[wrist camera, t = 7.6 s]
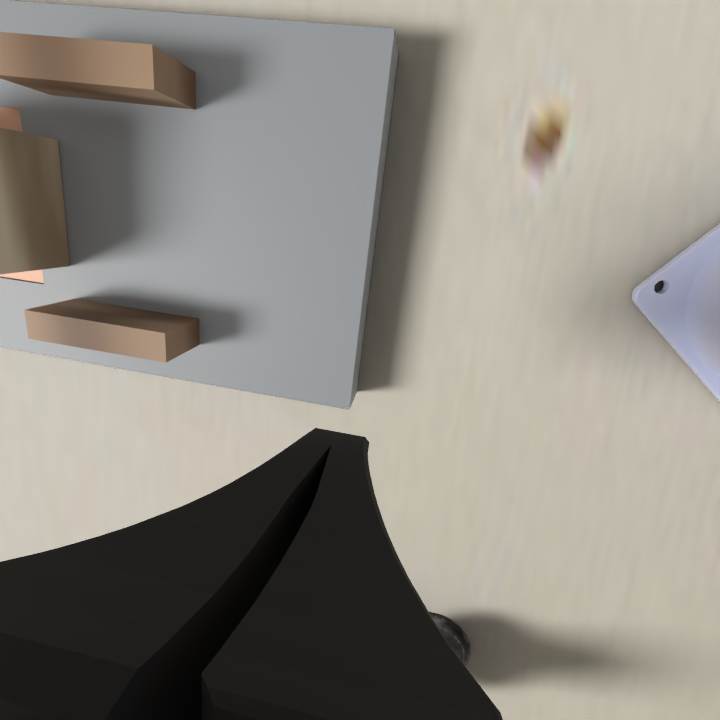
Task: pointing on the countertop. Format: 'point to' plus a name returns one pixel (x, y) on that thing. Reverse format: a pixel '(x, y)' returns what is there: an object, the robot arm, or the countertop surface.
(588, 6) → the countertop surface
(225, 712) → the robot arm
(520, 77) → the countertop surface
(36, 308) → the channel walls
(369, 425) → the countertop surface
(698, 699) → the countertop surface
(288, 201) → the deck
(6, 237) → the block
